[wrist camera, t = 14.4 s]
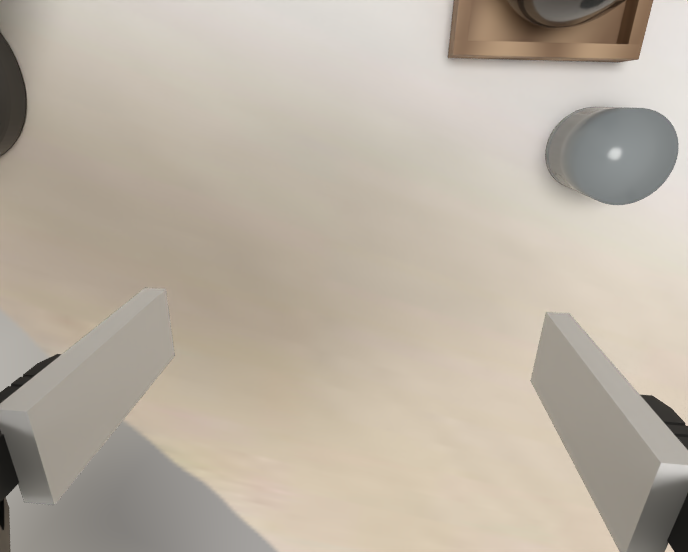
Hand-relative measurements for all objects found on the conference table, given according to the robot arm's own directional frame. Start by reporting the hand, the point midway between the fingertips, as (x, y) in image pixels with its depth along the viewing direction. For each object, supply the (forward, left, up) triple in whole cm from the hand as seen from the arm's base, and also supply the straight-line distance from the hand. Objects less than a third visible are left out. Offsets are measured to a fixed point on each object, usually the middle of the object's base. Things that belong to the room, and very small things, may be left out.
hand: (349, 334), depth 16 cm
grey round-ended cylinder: (+19, +4, -29) cm, 35 cm away
